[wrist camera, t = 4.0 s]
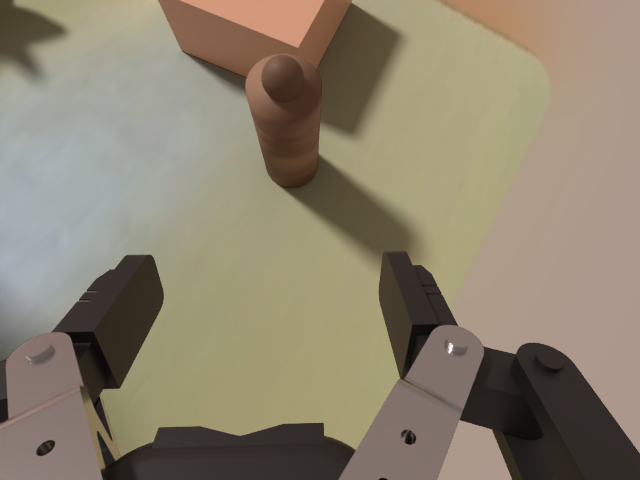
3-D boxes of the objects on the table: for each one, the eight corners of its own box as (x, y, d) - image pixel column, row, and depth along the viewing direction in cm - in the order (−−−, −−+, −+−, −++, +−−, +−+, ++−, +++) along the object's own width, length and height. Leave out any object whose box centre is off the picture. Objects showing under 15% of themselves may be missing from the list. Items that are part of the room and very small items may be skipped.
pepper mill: (257, 175, 29) (224, 80, 18) (279, 133, 30) (262, 17, 19) (304, 195, 29) (302, 112, 18) (325, 152, 30) (336, 46, 19)
